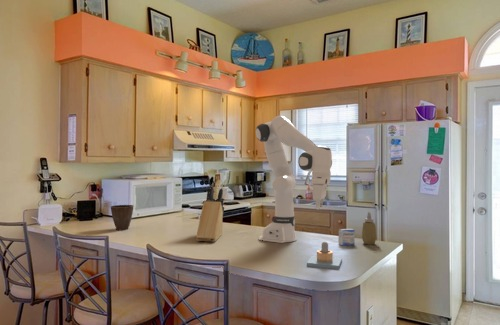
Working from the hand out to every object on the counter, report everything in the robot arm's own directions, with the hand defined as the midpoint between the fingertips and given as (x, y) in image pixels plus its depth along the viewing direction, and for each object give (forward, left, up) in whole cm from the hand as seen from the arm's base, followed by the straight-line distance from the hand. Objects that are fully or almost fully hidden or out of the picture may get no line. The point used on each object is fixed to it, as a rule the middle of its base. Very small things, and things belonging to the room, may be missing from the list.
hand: (319, 207), depth 180 cm
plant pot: (-139, +31, -25) cm, 145 cm away
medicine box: (+10, +36, -25) cm, 45 cm away
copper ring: (+4, -8, -23) cm, 25 cm away
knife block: (-71, +29, -25) cm, 80 cm away
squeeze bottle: (+22, +42, -25) cm, 53 cm away
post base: (+4, -8, -24) cm, 26 cm away
